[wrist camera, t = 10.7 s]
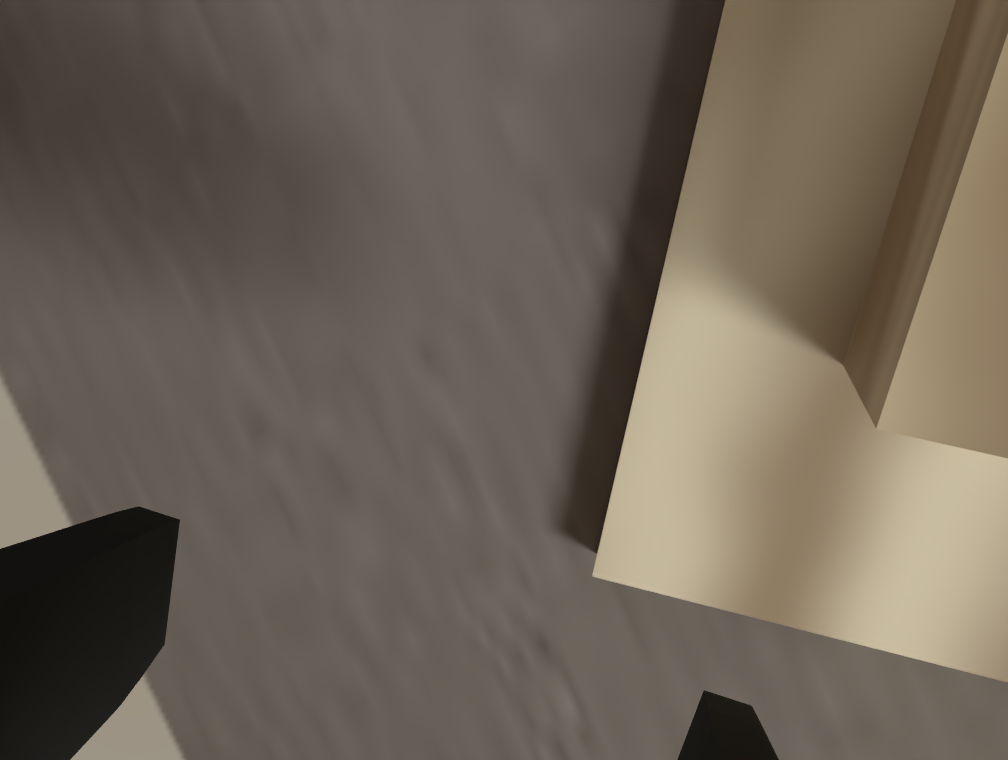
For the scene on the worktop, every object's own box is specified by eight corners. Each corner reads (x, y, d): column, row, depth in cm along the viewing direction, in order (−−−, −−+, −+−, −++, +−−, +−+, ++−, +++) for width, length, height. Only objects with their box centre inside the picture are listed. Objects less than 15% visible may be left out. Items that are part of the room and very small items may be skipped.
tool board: (596, 554, 21) (592, 576, 20) (882, -681, 14) (895, -735, 13) (1042, 667, 20) (1059, 695, 19) (1617, -634, 13) (1690, -692, 12)
